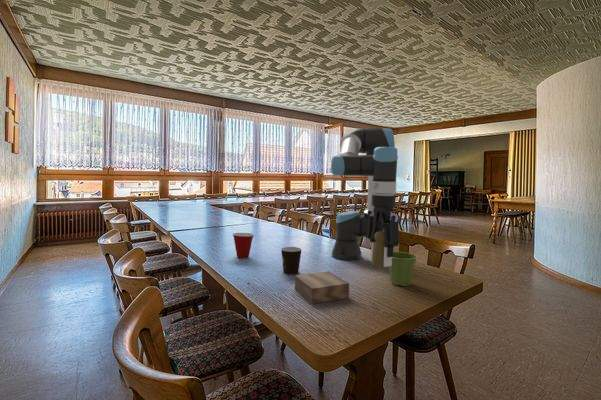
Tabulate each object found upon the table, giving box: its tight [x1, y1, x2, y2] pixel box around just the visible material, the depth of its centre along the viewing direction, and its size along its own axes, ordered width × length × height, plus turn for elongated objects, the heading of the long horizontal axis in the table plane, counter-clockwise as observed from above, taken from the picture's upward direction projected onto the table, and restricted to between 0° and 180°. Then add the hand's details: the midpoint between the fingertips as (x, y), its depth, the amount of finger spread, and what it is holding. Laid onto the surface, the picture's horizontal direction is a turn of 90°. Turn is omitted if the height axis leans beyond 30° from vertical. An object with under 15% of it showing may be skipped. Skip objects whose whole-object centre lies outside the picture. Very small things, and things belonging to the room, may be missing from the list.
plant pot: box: [388, 251, 419, 287], centre depth 120 cm, size 12×12×11 cm
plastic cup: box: [232, 232, 255, 259], centre depth 154 cm, size 11×11×12 cm
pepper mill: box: [371, 231, 386, 268], centre depth 103 cm, size 6×6×11 cm
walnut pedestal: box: [294, 271, 350, 304], centre depth 108 cm, size 14×14×5 cm
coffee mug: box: [280, 246, 302, 275], centre depth 132 cm, size 12×9×10 cm
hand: (380, 263), depth 103 cm, fingers closed on pepper mill, 6 cm apart
